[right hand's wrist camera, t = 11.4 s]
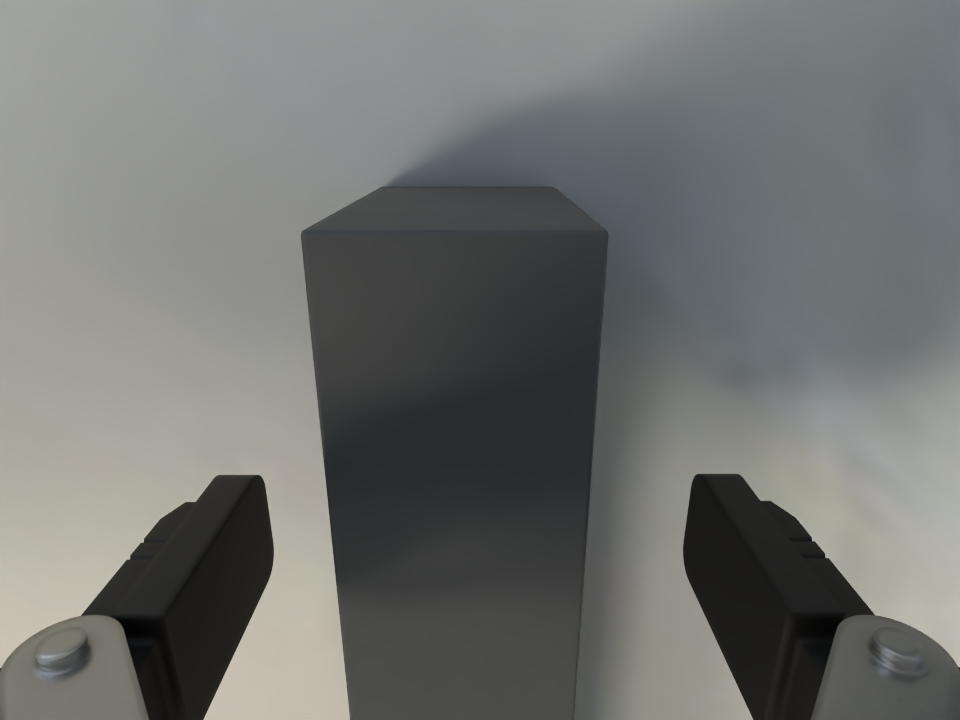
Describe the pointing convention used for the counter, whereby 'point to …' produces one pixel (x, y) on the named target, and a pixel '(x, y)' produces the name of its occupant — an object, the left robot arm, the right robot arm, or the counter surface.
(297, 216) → the counter surface
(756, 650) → the right robot arm
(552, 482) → the beam
